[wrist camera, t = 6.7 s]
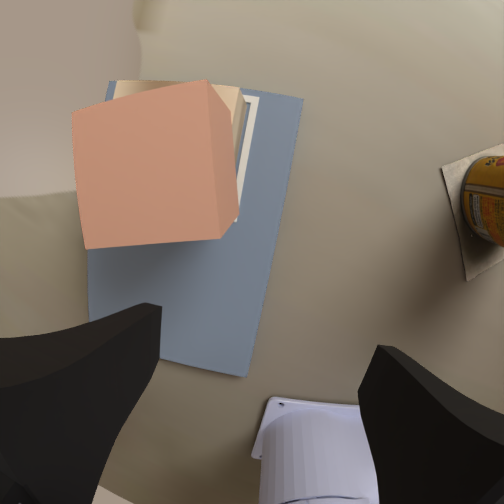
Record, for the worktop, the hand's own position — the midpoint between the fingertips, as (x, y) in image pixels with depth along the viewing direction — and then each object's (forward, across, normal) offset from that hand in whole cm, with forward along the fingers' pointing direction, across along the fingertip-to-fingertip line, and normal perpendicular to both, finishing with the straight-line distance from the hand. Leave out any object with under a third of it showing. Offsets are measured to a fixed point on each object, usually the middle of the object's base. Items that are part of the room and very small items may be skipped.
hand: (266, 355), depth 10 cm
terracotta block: (+5, +5, -5) cm, 8 cm away
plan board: (+10, +6, -1) cm, 12 cm away
